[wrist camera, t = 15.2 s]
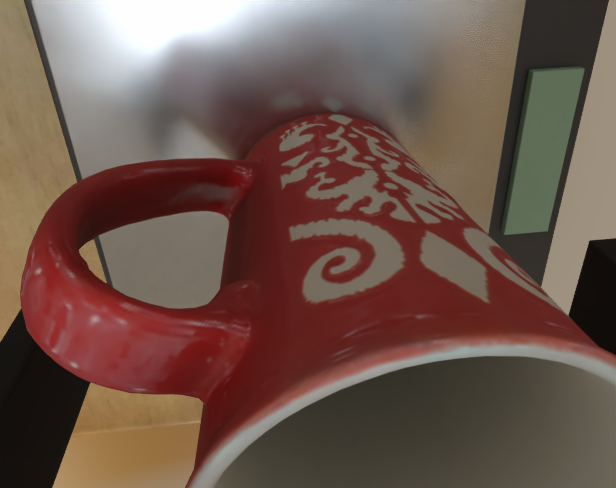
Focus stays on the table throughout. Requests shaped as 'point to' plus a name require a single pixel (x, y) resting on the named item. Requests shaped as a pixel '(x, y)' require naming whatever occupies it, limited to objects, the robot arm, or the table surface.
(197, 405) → the table surface
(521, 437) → the mug
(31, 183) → the table surface
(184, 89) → the kitchen scale
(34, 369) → the robot arm
